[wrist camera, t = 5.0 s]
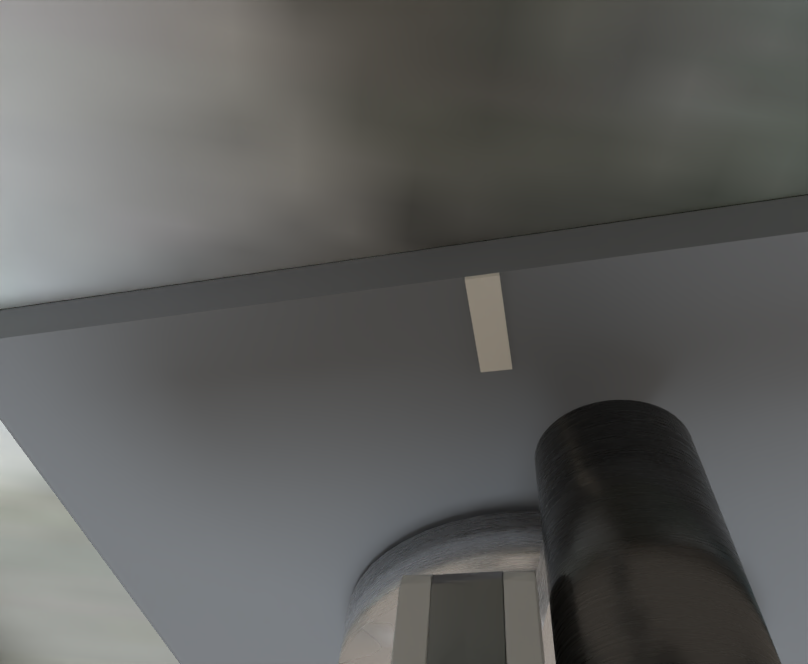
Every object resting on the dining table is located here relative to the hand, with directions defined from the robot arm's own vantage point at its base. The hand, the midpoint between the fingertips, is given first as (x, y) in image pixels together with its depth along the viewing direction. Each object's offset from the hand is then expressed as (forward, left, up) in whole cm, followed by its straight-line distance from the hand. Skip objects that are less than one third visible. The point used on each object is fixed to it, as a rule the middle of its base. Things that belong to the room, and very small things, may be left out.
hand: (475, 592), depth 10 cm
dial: (+7, +1, -5) cm, 9 cm away
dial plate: (+10, +1, -7) cm, 12 cm away
